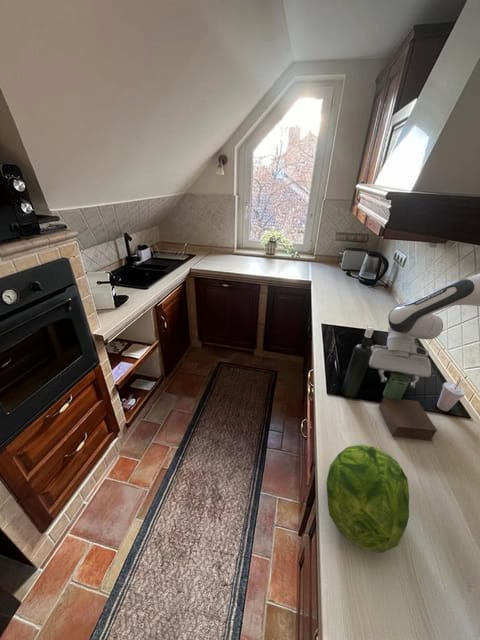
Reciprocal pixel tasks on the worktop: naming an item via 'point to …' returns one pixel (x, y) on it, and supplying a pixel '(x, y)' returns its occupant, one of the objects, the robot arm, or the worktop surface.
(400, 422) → the walnut block
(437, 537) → the worktop surface
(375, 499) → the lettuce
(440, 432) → the worktop surface
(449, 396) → the smoothie
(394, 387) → the green tin
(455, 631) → the worktop surface
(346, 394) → the wine bottle
